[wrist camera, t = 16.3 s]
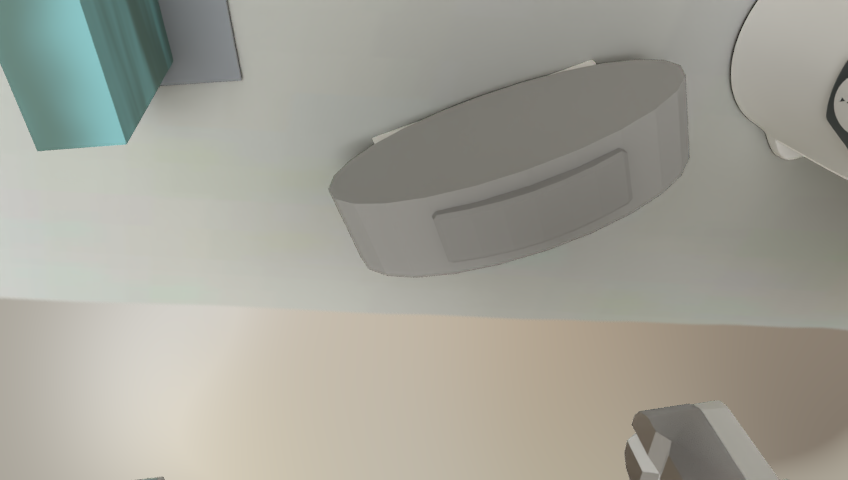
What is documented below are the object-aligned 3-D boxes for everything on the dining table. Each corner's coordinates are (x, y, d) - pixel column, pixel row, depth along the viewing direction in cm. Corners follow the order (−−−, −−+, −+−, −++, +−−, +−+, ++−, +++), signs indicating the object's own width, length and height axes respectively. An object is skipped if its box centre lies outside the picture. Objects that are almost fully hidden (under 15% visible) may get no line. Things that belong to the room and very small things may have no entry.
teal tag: (137, -80, 34) (67, -38, 24) (173, 61, 39) (126, 144, 29) (62, -77, 34) (-41, -33, 24) (107, 65, 38) (37, 150, 29)
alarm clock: (357, 211, 48) (369, 322, 37) (326, 144, 44) (330, 246, 34) (643, 111, 46) (737, 197, 36) (635, 34, 43) (738, 105, 32)
